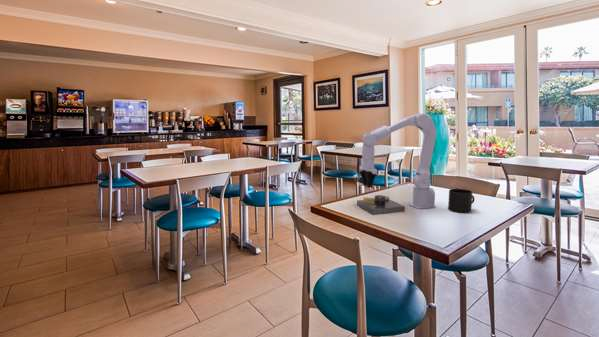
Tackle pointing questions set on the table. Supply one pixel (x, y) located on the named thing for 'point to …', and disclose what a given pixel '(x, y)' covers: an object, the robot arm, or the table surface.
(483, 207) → the table surface
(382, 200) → the level knob
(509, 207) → the table surface
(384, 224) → the table surface
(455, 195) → the mug
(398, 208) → the tribrach base
